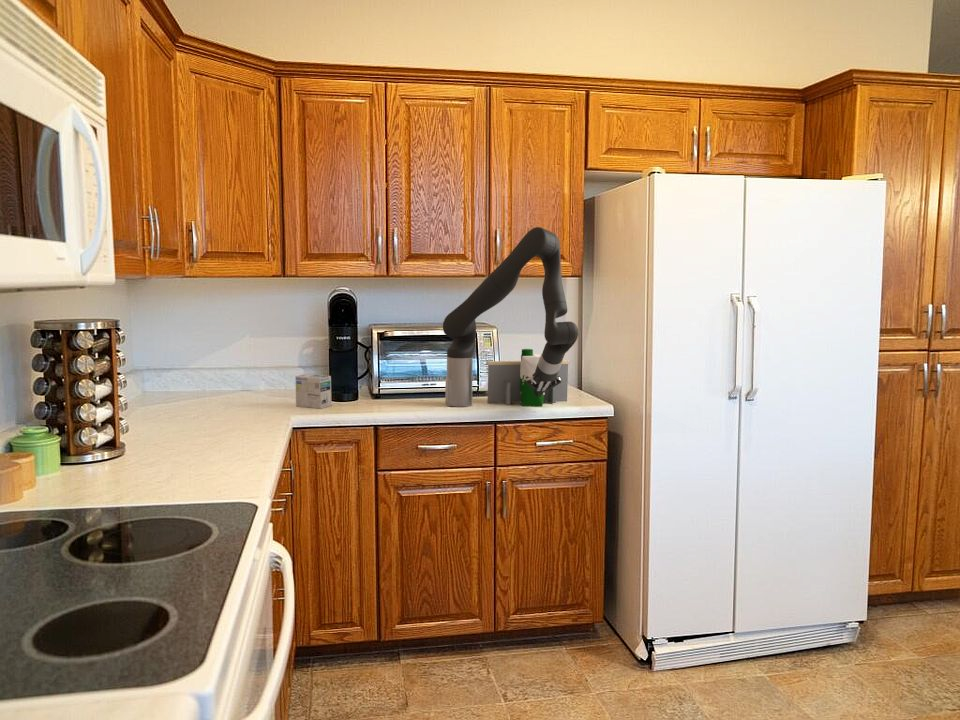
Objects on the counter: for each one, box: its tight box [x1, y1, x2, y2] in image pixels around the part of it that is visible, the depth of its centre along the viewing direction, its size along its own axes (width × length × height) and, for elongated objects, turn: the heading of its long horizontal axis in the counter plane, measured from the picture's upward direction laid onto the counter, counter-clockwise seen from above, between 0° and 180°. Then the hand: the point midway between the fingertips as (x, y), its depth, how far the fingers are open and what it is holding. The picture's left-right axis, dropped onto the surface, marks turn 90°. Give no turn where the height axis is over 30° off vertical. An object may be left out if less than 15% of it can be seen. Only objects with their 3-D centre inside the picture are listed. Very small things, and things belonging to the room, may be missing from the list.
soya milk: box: [520, 348, 545, 407], centre depth 262 cm, size 9×9×20 cm
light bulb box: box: [295, 373, 332, 410], centre depth 254 cm, size 11×7×11 cm, turn 68°
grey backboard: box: [485, 359, 570, 406], centre depth 266 cm, size 31×7×15 cm, turn 102°
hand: (537, 394), depth 256 cm, fingers closed
